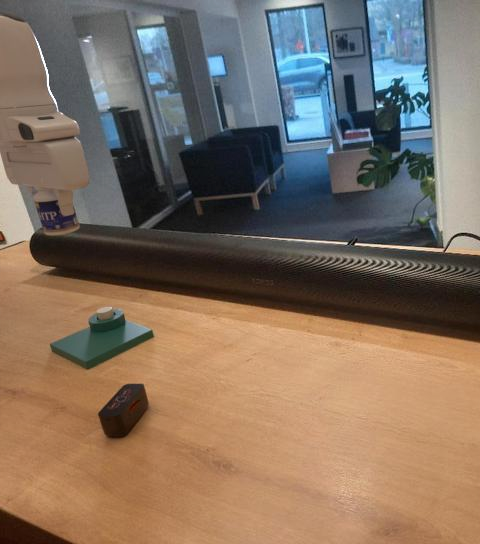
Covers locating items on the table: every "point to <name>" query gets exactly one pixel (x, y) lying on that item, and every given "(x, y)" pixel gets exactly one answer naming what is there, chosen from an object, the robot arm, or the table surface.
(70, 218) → the pill bottle
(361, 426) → the table surface
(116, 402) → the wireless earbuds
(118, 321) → the scale
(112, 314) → the button
